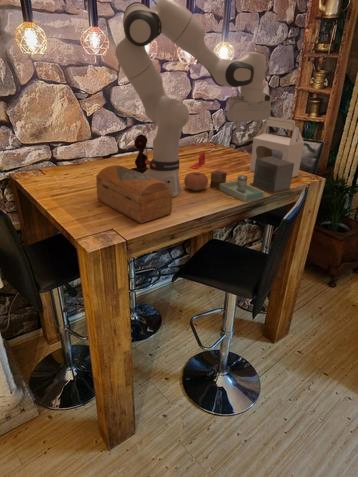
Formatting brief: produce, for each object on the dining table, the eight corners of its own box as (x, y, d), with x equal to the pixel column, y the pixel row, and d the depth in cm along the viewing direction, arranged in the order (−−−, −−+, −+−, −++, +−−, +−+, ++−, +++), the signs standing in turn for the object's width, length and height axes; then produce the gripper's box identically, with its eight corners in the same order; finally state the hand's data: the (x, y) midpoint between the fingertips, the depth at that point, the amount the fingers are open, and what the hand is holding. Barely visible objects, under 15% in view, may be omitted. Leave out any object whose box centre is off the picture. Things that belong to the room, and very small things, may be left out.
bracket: (197, 164, 201) (198, 150, 197) (204, 165, 199) (205, 151, 195) (188, 169, 191) (189, 154, 187) (196, 170, 189) (197, 156, 186)
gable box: (249, 170, 192) (255, 116, 179) (263, 166, 200) (271, 114, 187) (284, 180, 177) (293, 122, 165) (298, 175, 185) (308, 120, 172)
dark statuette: (155, 181, 170) (155, 139, 161) (125, 181, 170) (123, 138, 161) (157, 173, 183) (157, 133, 174) (128, 172, 183) (127, 132, 174)
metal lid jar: (240, 193, 155) (241, 178, 152) (234, 191, 158) (235, 175, 155) (247, 192, 157) (249, 177, 154) (241, 189, 160) (243, 174, 157)
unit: (273, 195, 157) (277, 166, 151) (249, 184, 169) (252, 158, 164) (292, 191, 163) (297, 163, 157) (268, 181, 175) (272, 155, 169)
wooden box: (174, 213, 136) (175, 178, 130) (139, 224, 126) (138, 187, 120) (130, 192, 156) (129, 161, 150) (97, 200, 146) (94, 167, 140)
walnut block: (218, 189, 162) (219, 174, 159) (210, 187, 165) (211, 172, 162) (225, 187, 165) (226, 172, 162) (217, 184, 168) (218, 170, 165)
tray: (244, 202, 148) (245, 195, 147) (219, 189, 162) (219, 183, 161) (264, 198, 153) (264, 191, 152) (237, 186, 167) (238, 180, 166)
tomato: (209, 187, 165) (210, 170, 161) (204, 194, 156) (205, 177, 152) (187, 184, 167) (188, 168, 164) (181, 191, 158) (181, 174, 155)
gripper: (235, 97, 136) (231, 134, 142) (275, 96, 145) (270, 131, 151) (225, 96, 141) (222, 131, 147) (264, 95, 150) (260, 128, 156)
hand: (247, 131), depth 149 cm, fingers open, 8 cm apart
